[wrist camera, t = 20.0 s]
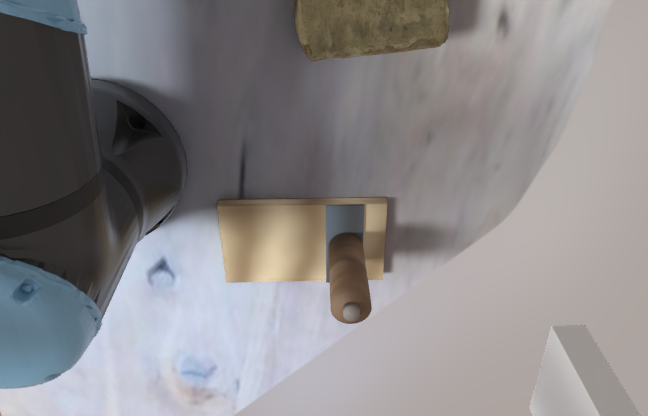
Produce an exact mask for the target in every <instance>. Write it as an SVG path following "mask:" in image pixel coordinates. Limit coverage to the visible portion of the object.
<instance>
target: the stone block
mask: <svg viewBox="0 0 648 416" xmlns="http://www.w3.org/2000/svg"><path fill="white" fill-rule="evenodd" d="M448 17H449V9H448V0H295V7H294V18H295V25H296V31H297V35H298V38H299V42H300V44H301V47H302V49H303V51H304V53H305V54H306V56H307V57H308V58H309V59H310V60H311V61H316V60H321V59H326V58H349V57H356V56H365V55H376V54H386V53H395V52H404V51H411V50H416V49H424V48H434V47H439V46H440V45H442V44H443V43H445V41H446V39H447V38H448V32H449V25H448Z"/></svg>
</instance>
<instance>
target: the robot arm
mask: <svg viewBox="0 0 648 416" xmlns="http://www.w3.org/2000/svg"><path fill="white" fill-rule="evenodd" d="M85 34H87V28H86V26H85V24H84V23H83V22H82V21H81V18H80V13H79V8H78V3H77V0H0V389H15V388H24V387H30V386H35V385H39V384H43V383H45V382H48V381H51V380H53V379H55V378H57V377H59V376H60V375H61V374H62V373H64V372H66V371H67V370H69V369H71V368H72V367H73V366H74V365H75V364H76V363H77V362H78V360H79V359H80V358H81V356H82V355H83V353H84V352H85V350H86V348H87V347H88V345H89V344H90V342H91V341H92V339H93V338H94V337H95V336H96V334H97V333H98V331H99V330H100V327H101V325H102V322H101V320H102V318H103V316H104V314H105V312H106V309H107V307H108V305H109V303H110V301H111V299H112V296H113V294H114V292H115V290H116V288H117V285H118V283H119V281H120V279H121V277H122V274H123V272H124V270H125V268H126V266H127V263H128V261H129V259H130V257H131V255H132V253H133V250H134V248H135V246H136V244H137V242H139V241H140V240H141V239H143V238H144V236H145V235H147V234H149V233H151V232H152V231H154V230H155V229H157V228H158V227H159V226H160V225H162V224H163V223H164V222H165V221H166V220H167V219H168V217H169V216H170V215H171V214H172V212H173V211H174V209H175V207H176V206H177V203H178V201H179V199H180V196H181V194H182V191H183V189H184V186H185V182H186V175H187V163H186V156H185V152H184V148H183V145H182V143H181V140H180V138H179V136H178V134H177V132H176V130H175V129H174V127H173V126H172V124H171V123H170V122H169V120H168V119H167V118H166V117H165V115H164V114H163V113H162V112H161V111H160V110H159V109H158V108H157V107H155V106H154V105H153V104H152V103H151V102H149V101H148V100H147V99H145V98H144V97H142V96H140V95H139V94H137V93H135V92H133V91H132V90H129V89H127V88H125V87H122V86H120V85H117V84H114V83H110V82H106V81H101V80H93V79H91V78H90V72H89V65H88V58H87V51H86V45H85V38H84V35H85ZM529 408H530V411H531V413H532V415H533V416H641V415H640V414H639V412H638V410H637V409H636V407H635V405H634V404H633V402H632V400H631V399H630V397H629V396H628V394H627V392H626V391H625V389H624V387H623V386H622V384H621V383H620V381H619V379H618V378H617V376H616V374H615V373H614V371H613V369H612V368H611V366H610V365H609V363H608V362H607V360H606V358H605V357H604V355H603V353H602V352H601V350H600V348H599V347H598V345H597V343H596V342H595V340H594V339H593V337H592V335H591V334H590V332H589V330H588V329H587V327H586V326H585V325H567V326H551V330H550V334H549V338H548V341H547V345H546V348H545V352H544V356H543V359H542V363H541V366H540V370H539V374H538V378H537V381H536V385H535V388H534V392H533V396H532V399H531V403H530V407H529ZM0 416H2V415H1V413H0Z"/></svg>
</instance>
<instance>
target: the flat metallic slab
mask: <svg viewBox="0 0 648 416" xmlns="http://www.w3.org/2000/svg"><path fill="white" fill-rule="evenodd" d="M217 212H218V220H219V228H220V236H221V244H222V252H223V260H224V268H225V276H226V282H275V281H324V280H326V282H330V276H329V253H328V245H329V242H330V240H331V239H332V238H333V237H334V236H335V235H337V234H340V233H345V232H347V233H353V234H355V235H357V236H358V237H359V238H360V239H361V241H362V243H363V249H364V256H365V263H366V271H367V278H368V280H374V279H383V269H384V252H385V236H386V219H387V200H386V197H374V198H318V199H262V200H219V201H218V204H217Z"/></svg>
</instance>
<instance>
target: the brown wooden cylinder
mask: <svg viewBox="0 0 648 416" xmlns="http://www.w3.org/2000/svg"><path fill="white" fill-rule="evenodd" d="M328 253H329V276H330V299H331V312H332V315H333V316H334V317H335V318H336V319H337V320H338V321H340V322H343V323H348V324H353V323H358V322H361V321H363V320H364V319H366V318H367V317H368V316H369V314H370V312H371V300H370V292H369V285H368V278H367V271H366V263H365V256H364V249H363V243H362V241H361V239H360V238H359V237H358V236H357V235H355V234H353V233H347V232H345V233H340V234H337V235H335V236H334V237H333V238H332V239H331V240H330V242H329V245H328Z"/></svg>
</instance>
